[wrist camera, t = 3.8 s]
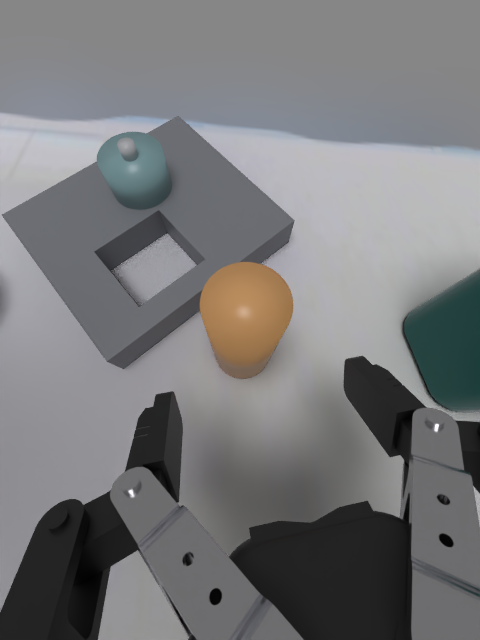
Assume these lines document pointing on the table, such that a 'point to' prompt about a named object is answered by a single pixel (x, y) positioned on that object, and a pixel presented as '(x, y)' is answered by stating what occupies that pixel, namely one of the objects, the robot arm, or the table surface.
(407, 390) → the robot arm
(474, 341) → the pitcher
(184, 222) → the block
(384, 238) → the table surface
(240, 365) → the orange capsule
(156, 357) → the table surface
